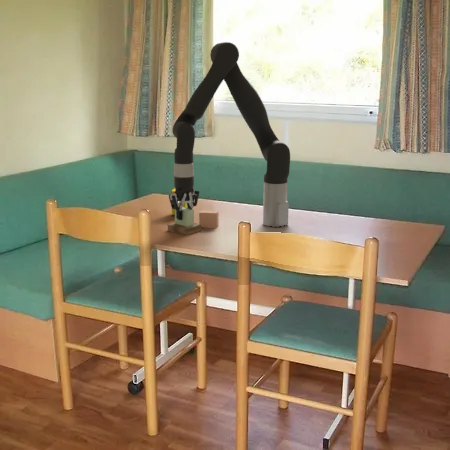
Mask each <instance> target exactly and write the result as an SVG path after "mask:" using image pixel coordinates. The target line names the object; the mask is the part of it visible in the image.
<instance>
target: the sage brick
mask: <svg viewBox="0 0 450 450" xmlns="http://www.w3.org/2000/svg"><path fill="white" fill-rule="evenodd" d="M181 211H182V220H178V219H177V218H176V210H175V216H174V222H175V224H179V225H182V226H186V227H189V226H193V225H194V223H195V210H194V209H193V208H192V209H188V208H184V207H182V210H181Z"/></svg>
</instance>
